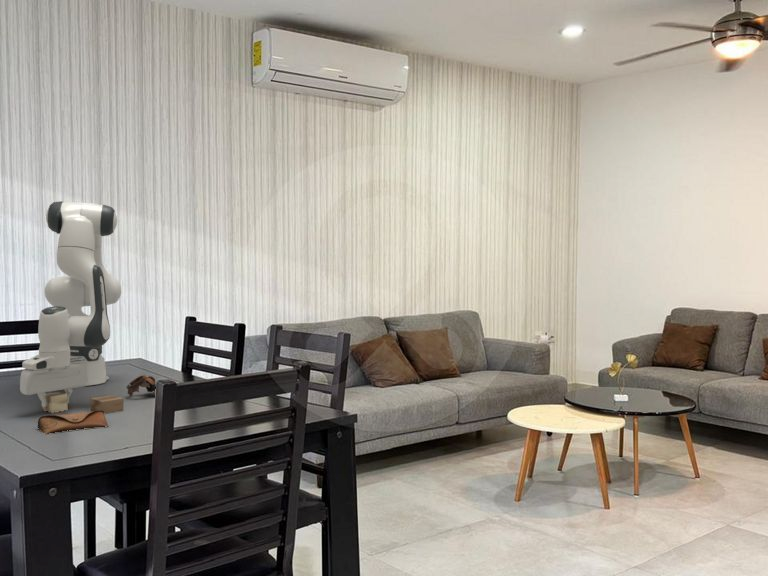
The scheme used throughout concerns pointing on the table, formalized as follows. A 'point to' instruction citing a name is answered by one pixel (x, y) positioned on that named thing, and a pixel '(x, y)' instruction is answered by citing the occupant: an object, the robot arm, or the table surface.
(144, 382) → the brown piece
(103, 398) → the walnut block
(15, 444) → the table surface
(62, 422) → the sunglasses case
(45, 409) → the beech block
